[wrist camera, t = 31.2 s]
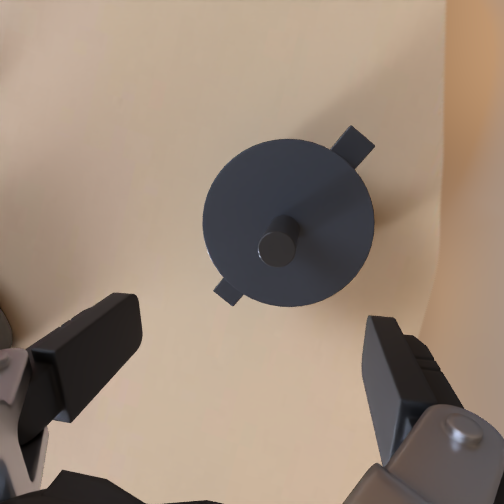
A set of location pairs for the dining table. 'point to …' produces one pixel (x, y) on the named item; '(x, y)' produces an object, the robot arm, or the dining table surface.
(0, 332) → the rock
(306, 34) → the dining table surface
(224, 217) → the pot lid
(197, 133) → the dining table surface
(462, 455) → the robot arm
